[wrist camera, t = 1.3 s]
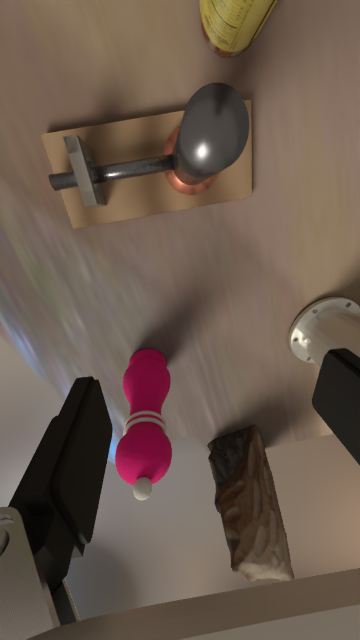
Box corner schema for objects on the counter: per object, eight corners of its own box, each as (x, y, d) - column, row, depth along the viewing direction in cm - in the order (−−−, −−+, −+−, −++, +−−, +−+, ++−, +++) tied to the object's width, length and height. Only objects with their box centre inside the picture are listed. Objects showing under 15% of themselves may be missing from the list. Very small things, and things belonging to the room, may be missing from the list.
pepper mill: (128, 381, 39) (107, 523, 21) (124, 346, 36) (94, 480, 18) (169, 378, 40) (181, 514, 22) (168, 344, 37) (182, 471, 19)
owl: (257, 458, 54) (308, 580, 36) (206, 468, 54) (232, 597, 36) (257, 424, 48) (318, 549, 30) (200, 435, 48) (228, 568, 30)
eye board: (247, 104, 24) (274, 73, 19) (248, 197, 28) (270, 194, 23) (45, 137, 24) (12, 116, 18) (76, 227, 28) (57, 232, 22)
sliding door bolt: (216, 120, 23) (263, 54, 13) (220, 190, 26) (261, 177, 16) (48, 149, 23) (-34, 102, 13) (71, 216, 26) (19, 220, 16)
